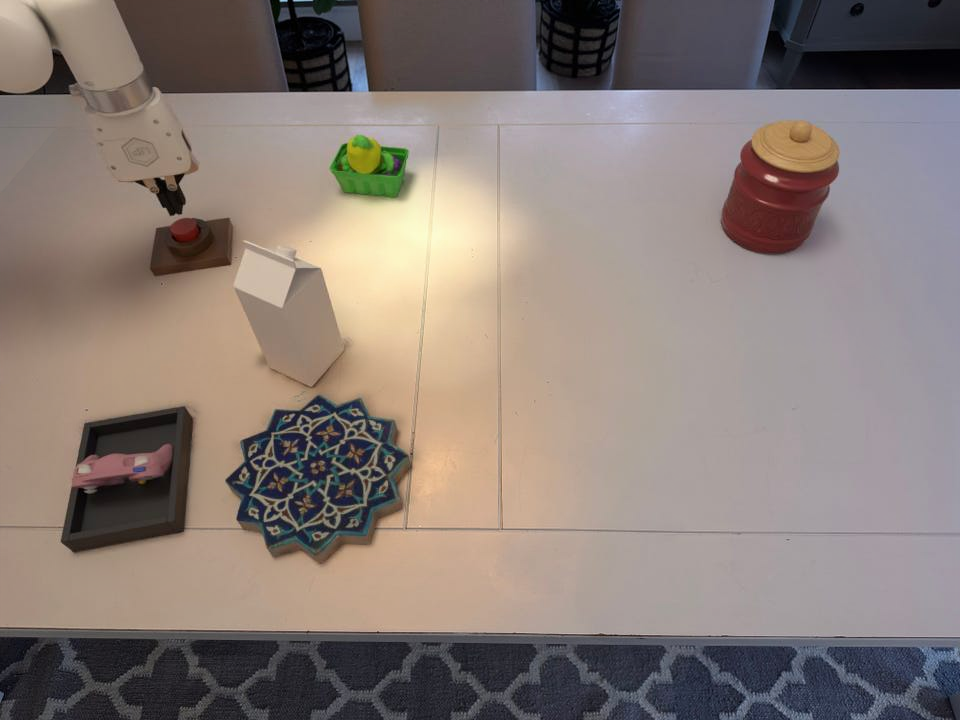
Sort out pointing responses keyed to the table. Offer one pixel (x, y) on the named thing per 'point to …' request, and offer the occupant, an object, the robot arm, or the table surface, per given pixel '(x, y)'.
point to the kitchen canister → (780, 186)
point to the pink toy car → (122, 468)
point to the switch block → (192, 248)
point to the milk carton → (288, 311)
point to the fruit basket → (369, 167)
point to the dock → (131, 504)
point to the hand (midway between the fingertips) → (177, 208)
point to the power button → (185, 230)
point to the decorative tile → (319, 477)
